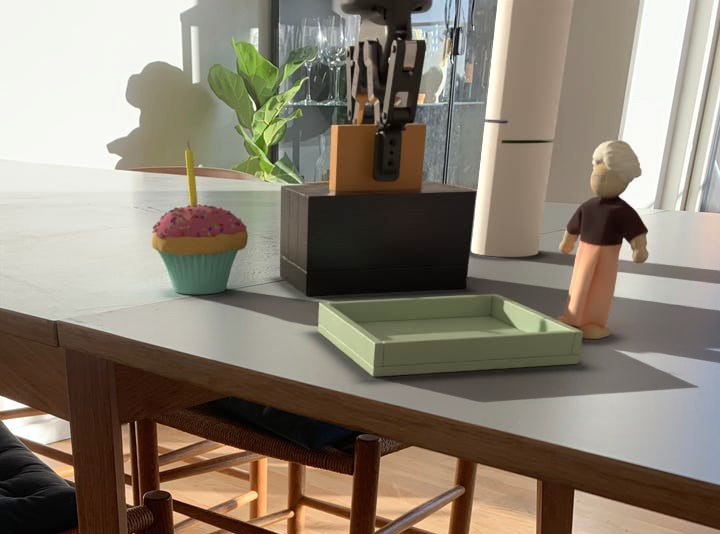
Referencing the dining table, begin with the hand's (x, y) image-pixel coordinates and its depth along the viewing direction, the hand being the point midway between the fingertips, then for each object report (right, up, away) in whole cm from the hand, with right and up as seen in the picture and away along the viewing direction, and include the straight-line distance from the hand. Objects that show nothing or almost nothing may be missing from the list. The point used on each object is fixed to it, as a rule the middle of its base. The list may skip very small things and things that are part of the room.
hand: (375, 177), depth 84 cm
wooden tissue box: (0, -8, +5) cm, 9 cm away
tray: (+2, -20, -17) cm, 27 cm away
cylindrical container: (+17, +1, +20) cm, 26 cm away
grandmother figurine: (+13, -19, -14) cm, 27 cm away
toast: (0, -6, +3) cm, 7 cm away
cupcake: (-16, -10, +2) cm, 18 cm away
